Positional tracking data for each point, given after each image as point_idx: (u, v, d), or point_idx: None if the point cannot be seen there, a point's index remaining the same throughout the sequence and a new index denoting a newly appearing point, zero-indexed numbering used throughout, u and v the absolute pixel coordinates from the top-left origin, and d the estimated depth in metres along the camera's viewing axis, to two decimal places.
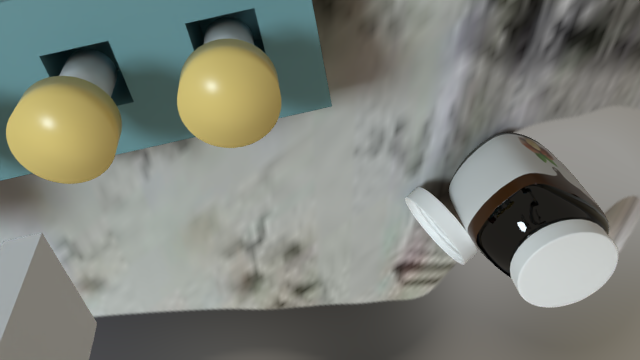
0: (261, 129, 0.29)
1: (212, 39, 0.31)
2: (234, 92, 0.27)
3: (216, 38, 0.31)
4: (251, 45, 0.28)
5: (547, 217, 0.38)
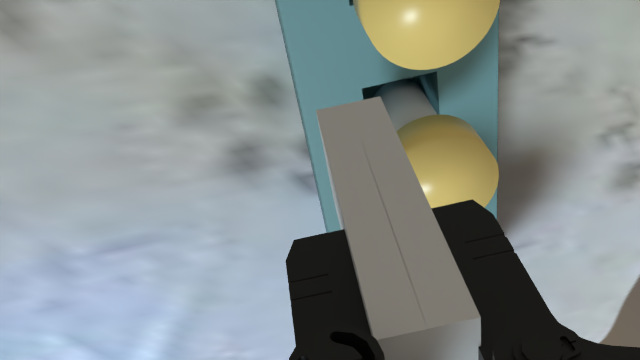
0: None
1: None
2: None
3: None
4: None
5: None
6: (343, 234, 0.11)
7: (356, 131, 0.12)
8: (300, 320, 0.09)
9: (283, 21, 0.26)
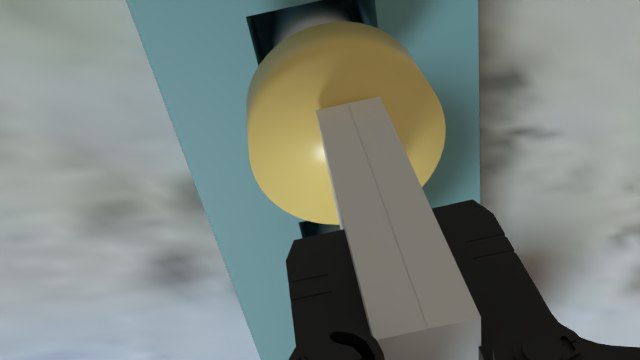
0: (414, 92, 0.14)
1: None
2: None
3: None
4: (256, 74, 0.15)
5: None
6: (343, 234, 0.11)
7: (356, 131, 0.12)
8: (300, 320, 0.09)
9: (183, 147, 0.19)
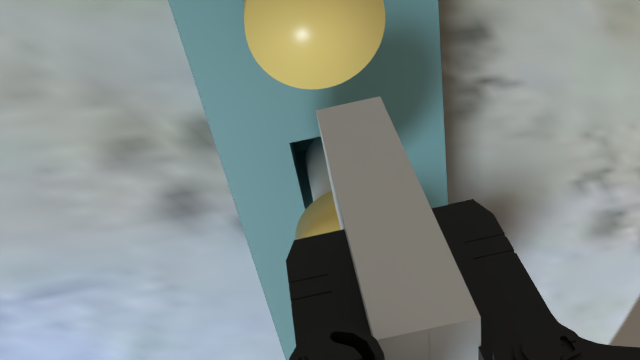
0: None
1: None
2: (297, 18, 0.20)
3: None
4: None
5: None
6: (343, 234, 0.11)
7: (356, 131, 0.12)
8: (300, 320, 0.09)
9: (193, 71, 0.23)
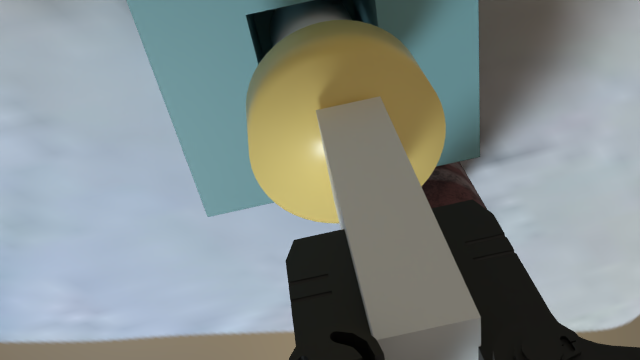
0: None
1: None
2: None
3: None
4: None
5: None
6: (343, 234, 0.11)
7: (356, 131, 0.12)
8: (300, 320, 0.09)
9: None
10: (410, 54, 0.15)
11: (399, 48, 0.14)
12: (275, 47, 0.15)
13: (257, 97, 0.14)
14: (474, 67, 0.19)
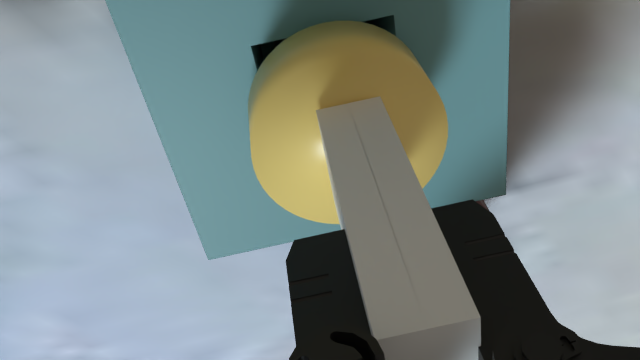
0: None
1: None
2: None
3: None
4: None
5: None
6: (343, 234, 0.11)
7: (356, 131, 0.12)
8: (300, 320, 0.09)
9: None
10: (412, 55, 0.15)
11: (401, 49, 0.14)
12: (277, 48, 0.15)
13: (259, 98, 0.14)
14: (502, 100, 0.17)
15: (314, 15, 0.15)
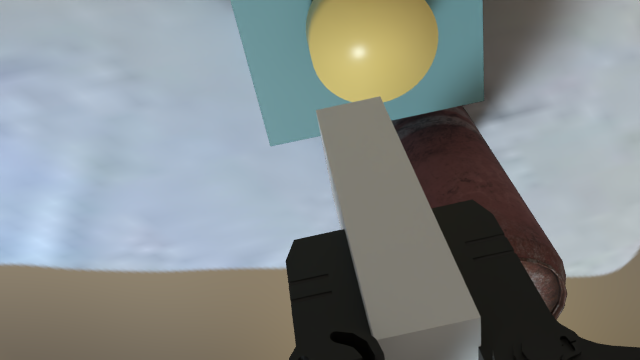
0: None
1: None
2: None
3: None
4: None
5: None
6: (343, 234, 0.11)
7: (356, 131, 0.12)
8: (300, 320, 0.09)
9: None
10: None
11: None
12: None
13: (316, 13, 0.22)
14: (479, 27, 0.25)
15: None
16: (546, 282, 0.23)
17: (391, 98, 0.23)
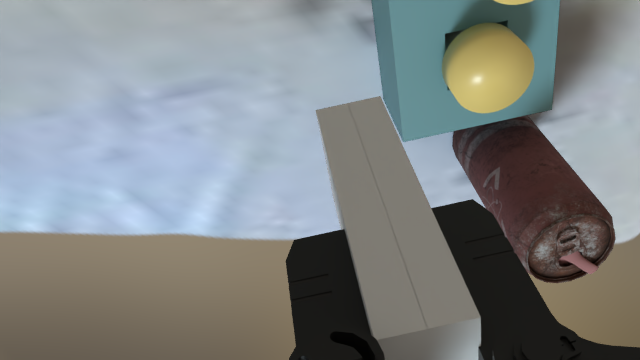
0: None
1: None
2: None
3: None
4: None
5: None
6: (343, 234, 0.11)
7: (356, 131, 0.12)
8: (300, 320, 0.09)
9: None
10: (518, 37, 0.34)
11: None
12: (460, 34, 0.34)
13: (457, 54, 0.33)
14: (553, 60, 0.37)
15: (473, 20, 0.35)
16: (602, 231, 0.35)
17: (499, 109, 0.35)
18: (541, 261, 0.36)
